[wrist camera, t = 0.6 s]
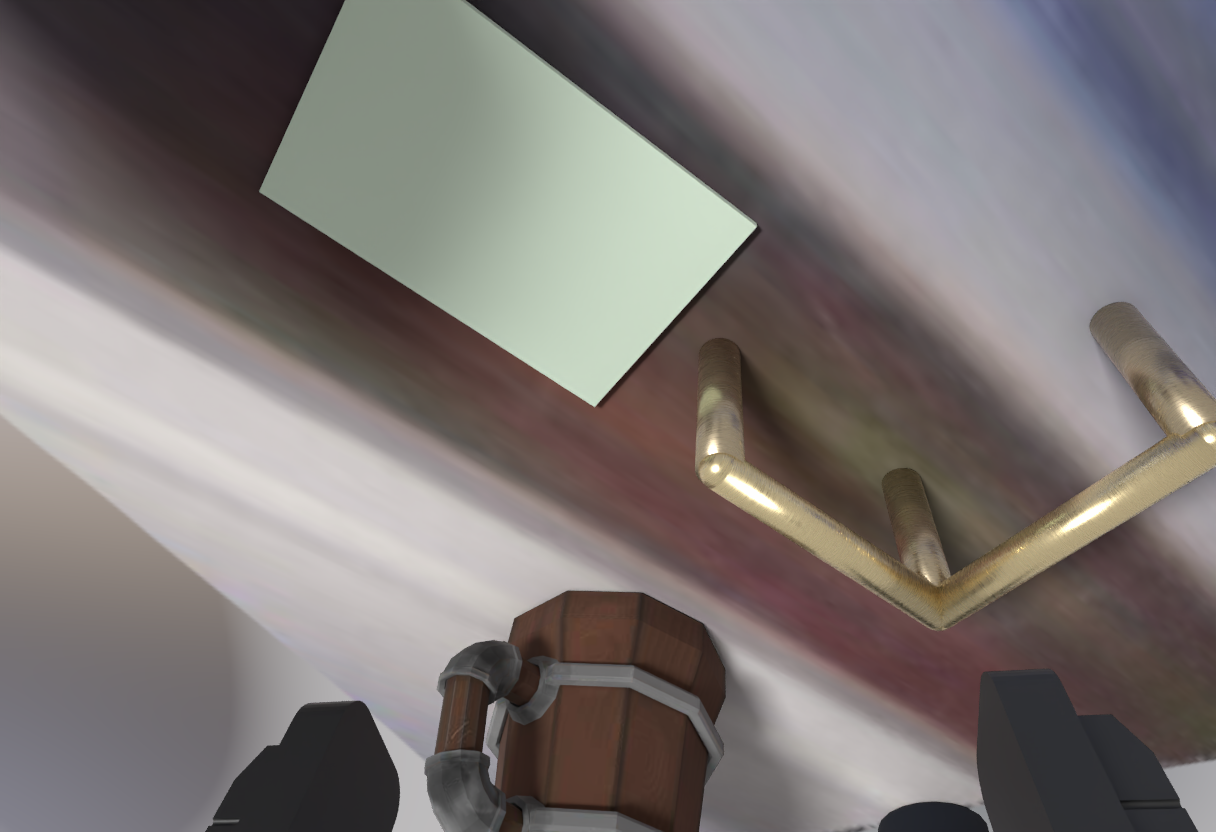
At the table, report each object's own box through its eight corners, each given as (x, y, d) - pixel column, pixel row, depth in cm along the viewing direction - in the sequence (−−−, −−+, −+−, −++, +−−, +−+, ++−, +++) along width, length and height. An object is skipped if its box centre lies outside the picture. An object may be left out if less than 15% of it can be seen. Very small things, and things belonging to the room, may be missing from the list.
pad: (378, -67, 24) (374, -66, 24) (756, 223, 28) (757, 226, 28) (262, 189, 30) (258, 191, 30) (595, 403, 34) (594, 407, 34)
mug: (766, 681, 43) (786, 1010, 31) (597, 747, 49) (557, 1049, 37) (574, 501, 37) (505, 823, 25) (404, 598, 43) (280, 903, 31)
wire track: (919, 118, 26) (983, 210, 20) (1148, 319, 29) (1265, 452, 23) (690, 358, 32) (684, 485, 26) (900, 502, 35) (939, 647, 29)
